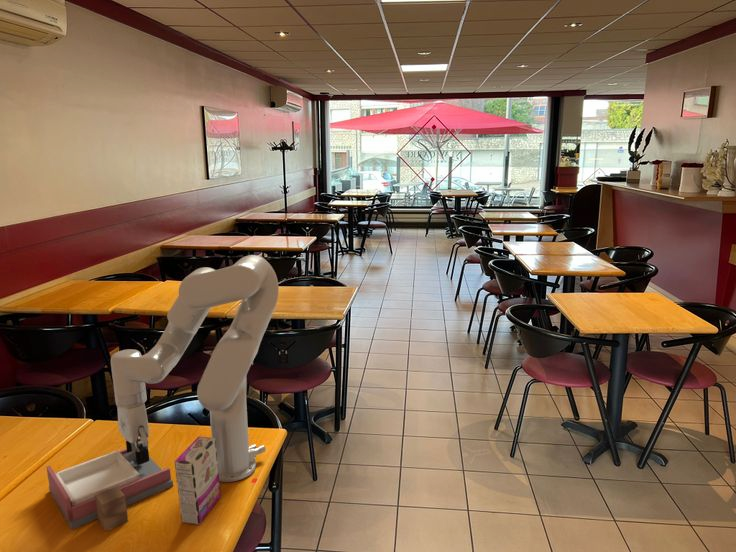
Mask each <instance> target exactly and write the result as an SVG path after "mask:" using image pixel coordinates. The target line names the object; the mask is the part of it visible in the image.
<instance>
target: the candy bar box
mask: <svg viewBox="0 0 736 552" xmlns="http://www.w3.org/2000/svg"><path fill="white" fill-rule="evenodd" d="M174 469H175V470H174V471H175V478H176V485H177V486H176V487H177V492H178V494H177V495H178V501H179V509H180V519H181V523H183V524H192V525H197V526H198V525H199V526H200V525H201V523H202V522H203V521H204V520H205V518H206V517H207V516H208V514H209V512H211V510H212V509H213V508H214V506H215V505H216V504H217V502H218V501H219V499H221V497H222V493H221V492H222V491H221V483H220V482H221V481H219V471H218V461H217V451H216V441H215V438H212V437H206V436H198V437H196V439H195V440H194V441H193V442H191V444H190V445H189V446H188V447H187V448H186V449H185V450H184V451H183V452H182V453H181V454H180V455H179V456H178V457H176V459H175V460H174Z"/></svg>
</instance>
